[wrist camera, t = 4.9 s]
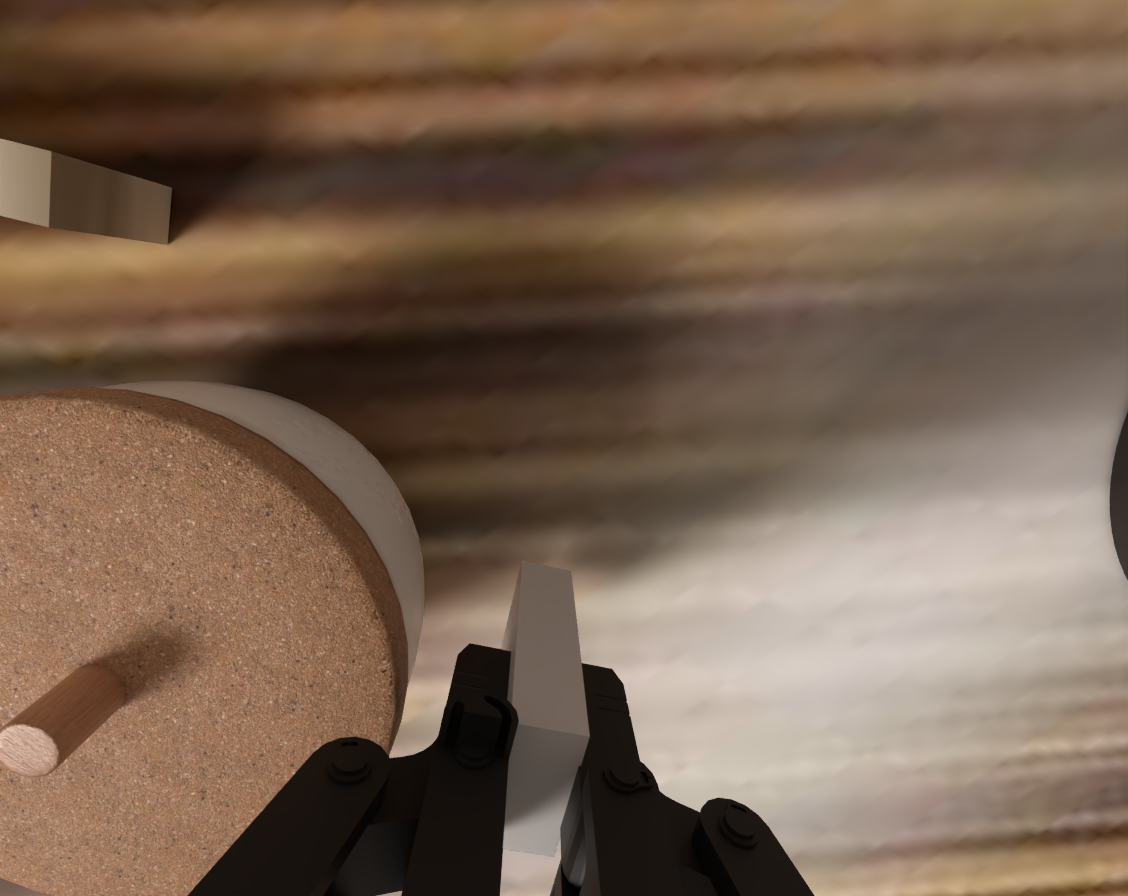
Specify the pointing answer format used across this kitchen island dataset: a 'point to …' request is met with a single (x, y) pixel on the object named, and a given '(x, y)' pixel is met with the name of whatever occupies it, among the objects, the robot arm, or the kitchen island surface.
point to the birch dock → (80, 195)
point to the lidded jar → (184, 622)
